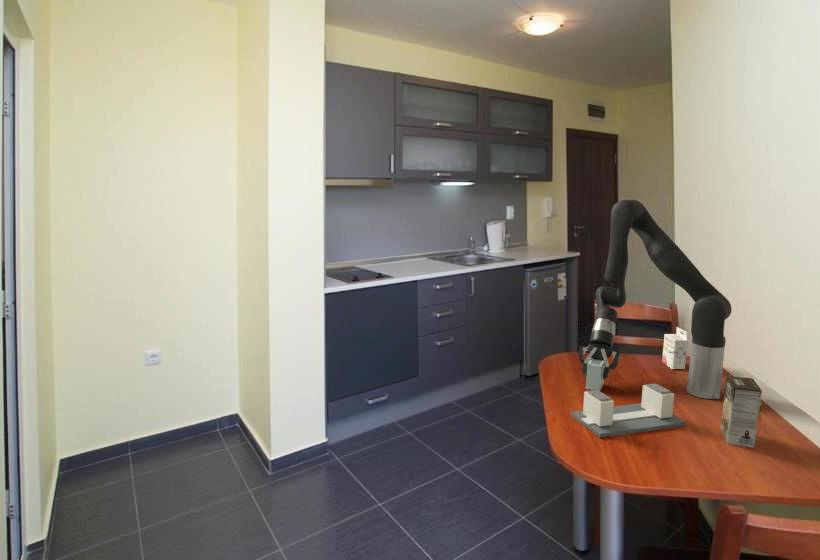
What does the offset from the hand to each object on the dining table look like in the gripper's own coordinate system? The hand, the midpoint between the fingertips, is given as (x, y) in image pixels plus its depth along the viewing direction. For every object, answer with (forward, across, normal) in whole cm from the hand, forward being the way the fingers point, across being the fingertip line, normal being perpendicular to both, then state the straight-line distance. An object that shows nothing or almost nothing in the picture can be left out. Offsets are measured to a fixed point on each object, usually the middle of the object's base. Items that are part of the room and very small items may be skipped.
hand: (594, 376), depth 164 cm
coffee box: (+15, +40, -8) cm, 43 cm away
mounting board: (+17, +13, -11) cm, 24 cm away
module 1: (+21, +6, -17) cm, 28 cm away
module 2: (+11, +20, -7) cm, 24 cm away
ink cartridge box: (-24, +22, +31) cm, 45 cm away
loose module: (+2, 0, +4) cm, 5 cm away
